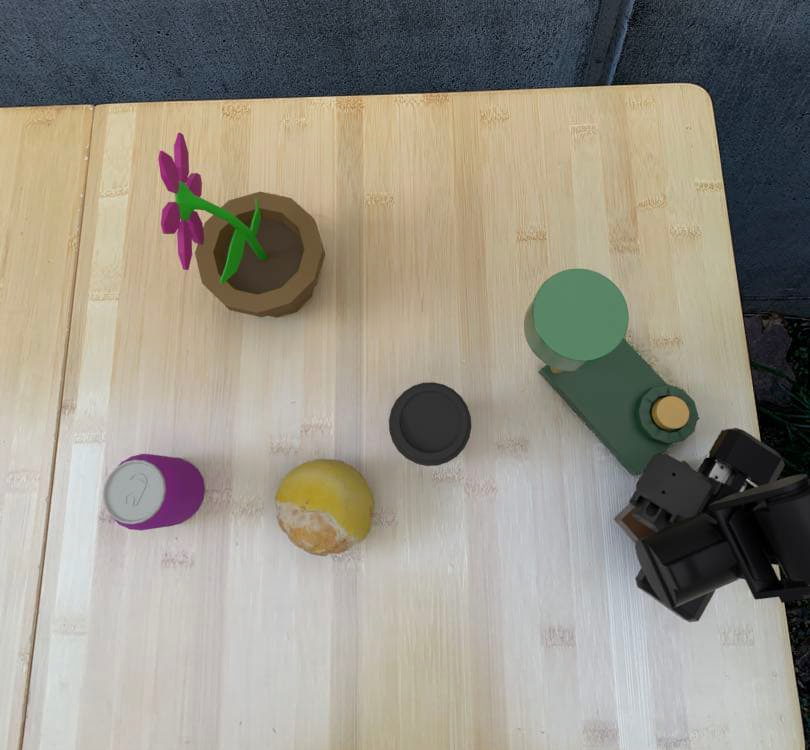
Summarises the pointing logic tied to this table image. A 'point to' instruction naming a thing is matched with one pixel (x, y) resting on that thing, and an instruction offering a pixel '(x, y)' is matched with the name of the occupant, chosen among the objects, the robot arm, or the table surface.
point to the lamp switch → (670, 413)
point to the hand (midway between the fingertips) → (678, 518)
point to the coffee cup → (430, 424)
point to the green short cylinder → (576, 319)
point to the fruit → (325, 506)
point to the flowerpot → (243, 242)
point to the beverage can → (153, 492)
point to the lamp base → (623, 405)
